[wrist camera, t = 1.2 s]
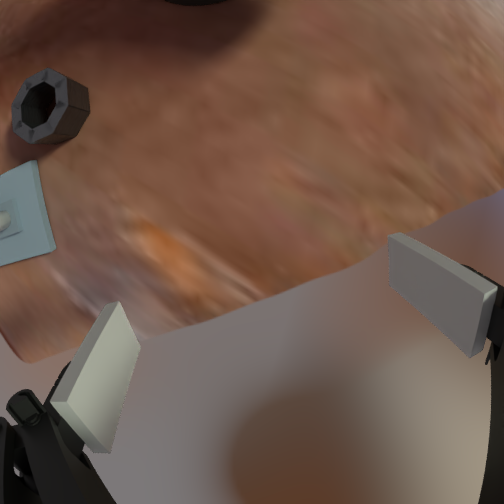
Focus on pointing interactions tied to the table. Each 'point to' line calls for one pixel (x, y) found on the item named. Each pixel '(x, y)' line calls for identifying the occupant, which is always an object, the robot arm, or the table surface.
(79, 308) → the table surface
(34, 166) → the shaft block
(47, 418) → the robot arm
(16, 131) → the hub
